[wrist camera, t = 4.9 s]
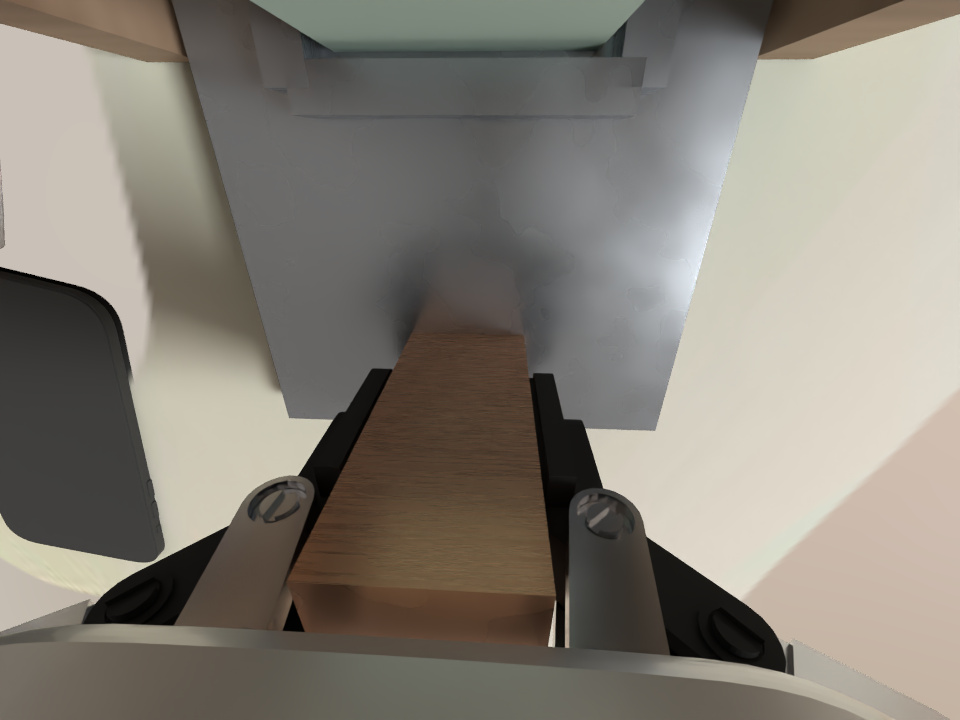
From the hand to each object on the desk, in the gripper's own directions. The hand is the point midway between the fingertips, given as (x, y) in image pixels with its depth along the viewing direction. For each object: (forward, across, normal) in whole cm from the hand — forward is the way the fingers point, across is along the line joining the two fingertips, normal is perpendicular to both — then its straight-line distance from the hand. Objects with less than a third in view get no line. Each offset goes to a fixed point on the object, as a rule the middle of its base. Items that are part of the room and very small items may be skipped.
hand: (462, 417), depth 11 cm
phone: (+4, +18, +4) cm, 19 cm away
